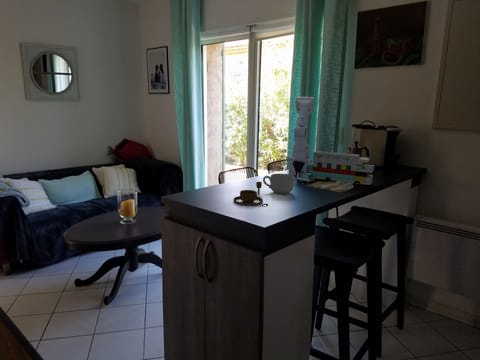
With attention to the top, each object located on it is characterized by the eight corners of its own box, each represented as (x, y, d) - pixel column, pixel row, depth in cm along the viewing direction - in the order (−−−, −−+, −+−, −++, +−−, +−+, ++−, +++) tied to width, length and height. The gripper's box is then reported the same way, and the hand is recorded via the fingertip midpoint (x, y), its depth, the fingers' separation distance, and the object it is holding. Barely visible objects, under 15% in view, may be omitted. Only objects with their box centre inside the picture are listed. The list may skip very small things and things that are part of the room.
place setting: (222, 200, 146) (223, 186, 145) (257, 193, 159) (258, 181, 157) (251, 211, 133) (252, 196, 132) (286, 202, 146) (287, 188, 145)
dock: (305, 187, 176) (305, 180, 175) (318, 183, 186) (318, 176, 185) (341, 194, 164) (342, 186, 163) (353, 189, 175) (353, 182, 174)
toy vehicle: (370, 187, 176) (373, 158, 173) (311, 180, 190) (313, 152, 186) (372, 184, 183) (375, 156, 180) (315, 177, 197) (317, 150, 194)
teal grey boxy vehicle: (296, 182, 183) (296, 172, 181) (302, 180, 188) (303, 170, 187) (308, 184, 178) (309, 174, 177) (314, 182, 183) (315, 172, 182)
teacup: (294, 191, 163) (295, 174, 161) (291, 197, 153) (292, 179, 151) (265, 188, 167) (266, 172, 165) (260, 193, 156) (261, 176, 155)
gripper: (283, 149, 184) (282, 174, 187) (308, 152, 175) (306, 178, 178) (290, 148, 189) (289, 172, 192) (315, 150, 180) (313, 176, 183)
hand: (297, 175), depth 185 cm, fingers closed
